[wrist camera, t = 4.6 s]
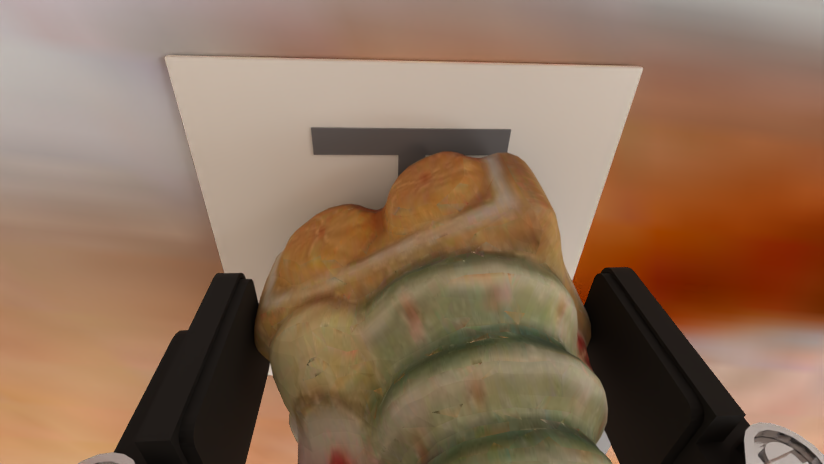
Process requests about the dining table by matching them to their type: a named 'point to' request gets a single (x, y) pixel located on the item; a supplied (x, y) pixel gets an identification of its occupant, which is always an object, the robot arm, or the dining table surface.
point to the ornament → (434, 326)
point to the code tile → (384, 137)
